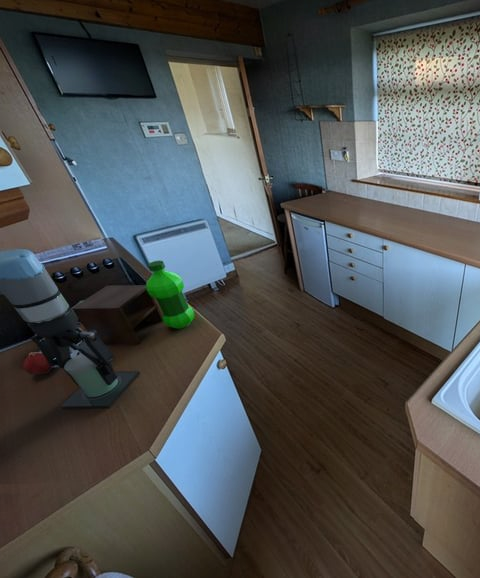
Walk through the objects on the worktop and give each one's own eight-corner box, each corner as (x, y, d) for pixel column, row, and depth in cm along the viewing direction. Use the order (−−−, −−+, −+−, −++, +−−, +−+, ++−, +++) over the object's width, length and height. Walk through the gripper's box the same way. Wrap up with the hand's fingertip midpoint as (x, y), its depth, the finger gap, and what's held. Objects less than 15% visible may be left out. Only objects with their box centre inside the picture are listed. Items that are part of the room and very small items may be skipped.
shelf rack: (96, 345, 98) (71, 308, 90) (126, 319, 110) (106, 285, 102) (138, 344, 98) (118, 307, 91) (164, 319, 110) (148, 285, 102)
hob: (62, 409, 77) (60, 406, 76) (98, 374, 87) (97, 371, 87) (109, 407, 77) (107, 405, 77) (140, 373, 88) (138, 370, 87)
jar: (77, 398, 78) (55, 371, 73) (99, 376, 85) (80, 350, 79) (105, 397, 79) (86, 370, 73) (125, 376, 85) (108, 350, 80)
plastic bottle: (159, 333, 103) (128, 270, 90) (176, 315, 112) (150, 256, 99) (188, 333, 103) (161, 270, 91) (203, 315, 112) (180, 256, 100)
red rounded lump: (27, 377, 86) (9, 357, 82) (51, 363, 90) (36, 344, 86) (40, 382, 84) (23, 362, 80) (64, 368, 89) (49, 348, 85)
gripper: (105, 304, 72) (144, 370, 84) (20, 305, 71) (72, 371, 83) (79, 323, 66) (125, 391, 77) (-14, 324, 65) (47, 393, 77)
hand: (97, 381), depth 80 cm, fingers open, 7 cm apart
